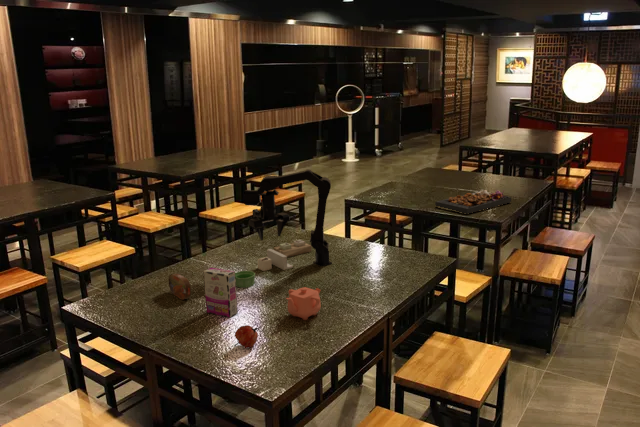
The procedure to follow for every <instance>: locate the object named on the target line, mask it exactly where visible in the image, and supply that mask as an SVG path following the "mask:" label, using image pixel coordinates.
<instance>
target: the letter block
mask: <svg viewBox="0 0 640 427" xmlns="http://www.w3.org/2000/svg"><path fill="white" fill-rule="evenodd" d="M272 265H273V264H272V263H271V259H269V258H267V256H265V257H260V258H257V268H258V270H261V272H264V271H265V272H266V271H269V270H272V269H273V266H272Z"/></svg>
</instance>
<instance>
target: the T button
mask: <svg viewBox="0 0 640 427" xmlns="http://www.w3.org/2000/svg"><path fill="white" fill-rule="evenodd" d="M293 243H294V245H295V246H297V247H300V246H304V245H305V243H306V241H304V240H302V239H297V240H293Z"/></svg>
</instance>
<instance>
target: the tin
mask: <svg viewBox="0 0 640 427" xmlns="http://www.w3.org/2000/svg"><path fill="white" fill-rule="evenodd" d="M168 286H169V291H170V292H171V293H172V295H174V296H175V297H176V298H179V299H180V300H187V299H189V298H190V297H191V295H192V288H191V283H190V280H189V279H188V278H186V277H185V276H183V275H181V274H179V273H171V274H170V275H169V276H168Z"/></svg>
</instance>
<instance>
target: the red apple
mask: <svg viewBox="0 0 640 427" xmlns="http://www.w3.org/2000/svg"><path fill="white" fill-rule="evenodd" d="M259 329H260V328H258V327H255V328H253V326H251V325H247V324H245V325H241V326H240V327H238V329H236V331H235V333H234V338H235V339H236V341H237V343H236V344H234V345H233V346H234V347H236V345H238V344H239V345H241V346H242V347H243V348H244V349H250V348H252V347H253V346H255V345H256V343H257V340H258V337H259V335H258V332H257V330H259Z"/></svg>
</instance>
